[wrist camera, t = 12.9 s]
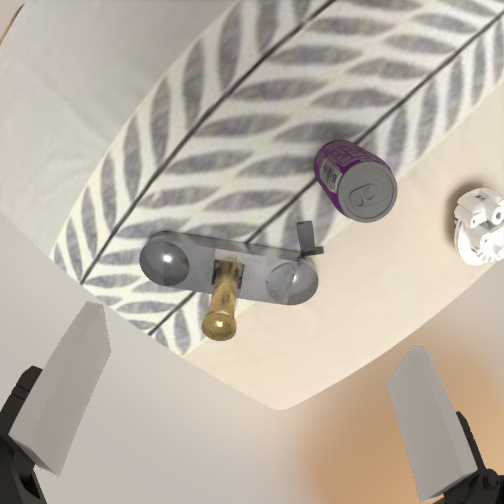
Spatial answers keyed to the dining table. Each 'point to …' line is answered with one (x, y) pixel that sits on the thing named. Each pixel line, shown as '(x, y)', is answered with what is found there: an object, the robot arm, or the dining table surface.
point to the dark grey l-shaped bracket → (307, 239)
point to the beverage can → (355, 181)
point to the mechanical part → (480, 226)
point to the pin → (222, 303)
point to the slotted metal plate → (210, 249)
